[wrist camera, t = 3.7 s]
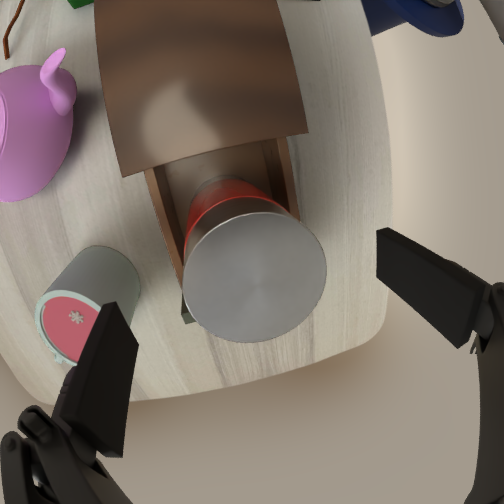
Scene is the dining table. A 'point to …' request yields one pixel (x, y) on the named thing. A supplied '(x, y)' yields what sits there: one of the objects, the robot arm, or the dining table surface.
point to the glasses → (5, 39)
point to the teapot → (34, 125)
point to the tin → (248, 263)
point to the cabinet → (194, 77)
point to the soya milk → (79, 3)
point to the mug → (85, 299)
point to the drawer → (206, 167)
